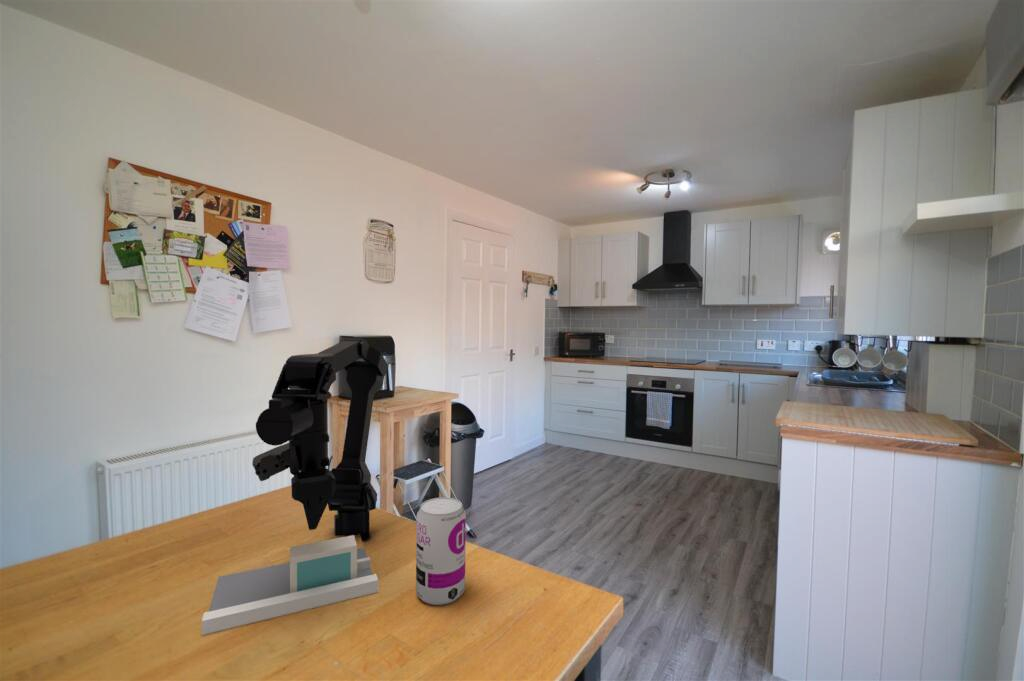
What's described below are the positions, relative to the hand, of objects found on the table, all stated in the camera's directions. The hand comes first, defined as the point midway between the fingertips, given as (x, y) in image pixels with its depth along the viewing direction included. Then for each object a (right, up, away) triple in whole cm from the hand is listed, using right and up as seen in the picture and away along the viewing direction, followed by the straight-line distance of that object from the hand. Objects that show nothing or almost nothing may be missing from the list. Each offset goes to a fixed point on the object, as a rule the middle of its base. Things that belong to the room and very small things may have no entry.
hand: (310, 518), depth 77 cm
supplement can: (+23, -12, -1) cm, 26 cm away
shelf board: (-1, -12, -2) cm, 12 cm away
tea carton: (+4, -10, -3) cm, 11 cm away
